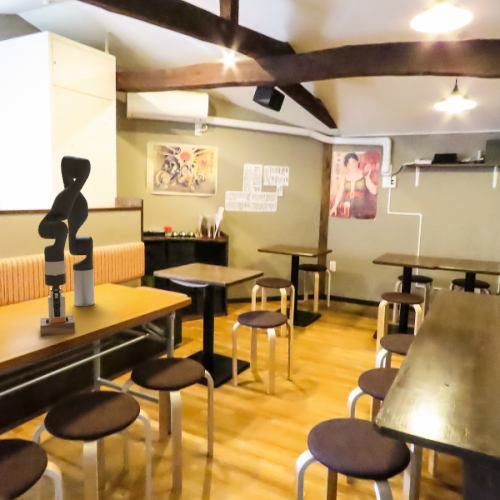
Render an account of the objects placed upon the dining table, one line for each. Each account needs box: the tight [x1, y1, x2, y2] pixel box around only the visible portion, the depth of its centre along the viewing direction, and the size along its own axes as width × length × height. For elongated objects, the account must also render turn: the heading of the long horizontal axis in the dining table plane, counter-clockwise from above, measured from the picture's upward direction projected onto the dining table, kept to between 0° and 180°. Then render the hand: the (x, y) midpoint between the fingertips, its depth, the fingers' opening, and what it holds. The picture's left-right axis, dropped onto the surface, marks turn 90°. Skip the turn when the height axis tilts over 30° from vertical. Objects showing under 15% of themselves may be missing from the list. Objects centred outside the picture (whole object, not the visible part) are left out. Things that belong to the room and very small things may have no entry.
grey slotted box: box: [39, 314, 76, 337], centre depth 171 cm, size 11×12×4 cm
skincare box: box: [47, 293, 67, 323], centre depth 171 cm, size 6×4×12 cm
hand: (57, 314), depth 171 cm, fingers closed on skincare box, 4 cm apart
